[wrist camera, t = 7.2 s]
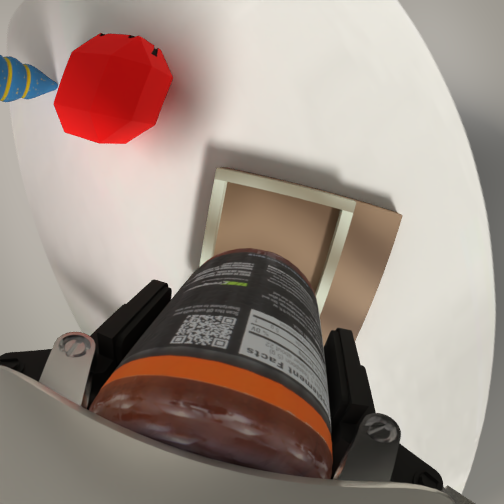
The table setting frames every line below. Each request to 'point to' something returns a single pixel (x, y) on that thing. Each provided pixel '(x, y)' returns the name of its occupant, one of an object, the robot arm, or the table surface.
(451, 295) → the table surface
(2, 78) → the ornament
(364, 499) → the robot arm
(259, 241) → the pin board
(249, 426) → the supplement bottle
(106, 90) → the ball
